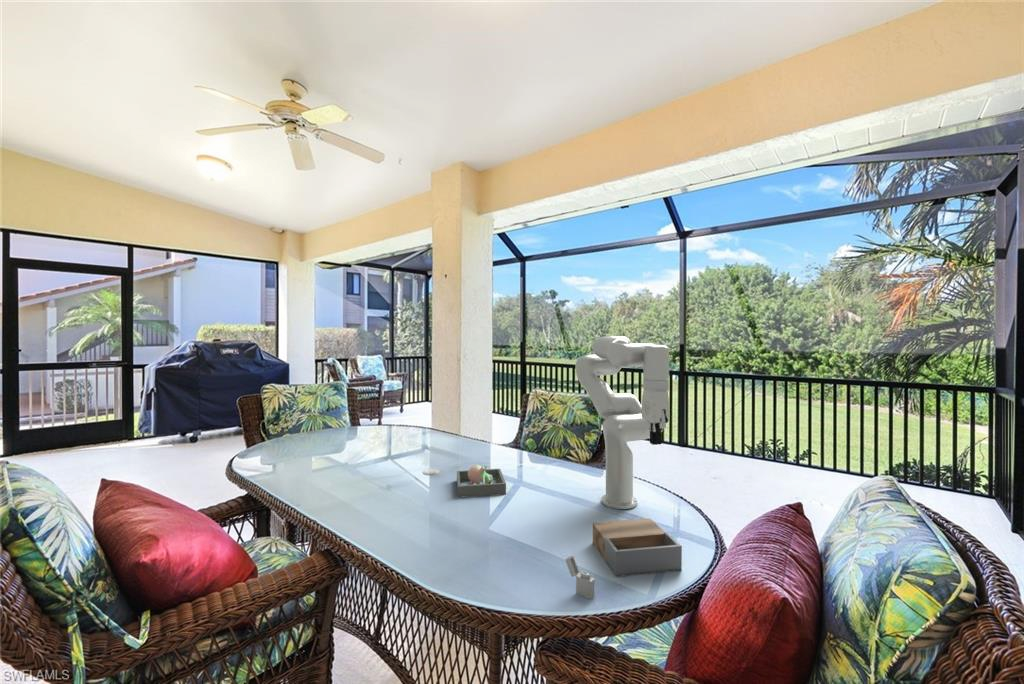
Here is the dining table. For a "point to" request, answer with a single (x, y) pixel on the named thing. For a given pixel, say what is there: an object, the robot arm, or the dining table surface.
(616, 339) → the robot arm
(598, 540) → the bench plate
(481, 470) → the orange and green lump
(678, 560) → the box
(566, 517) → the dining table surface
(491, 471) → the dark shallow tray
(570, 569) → the lighter
